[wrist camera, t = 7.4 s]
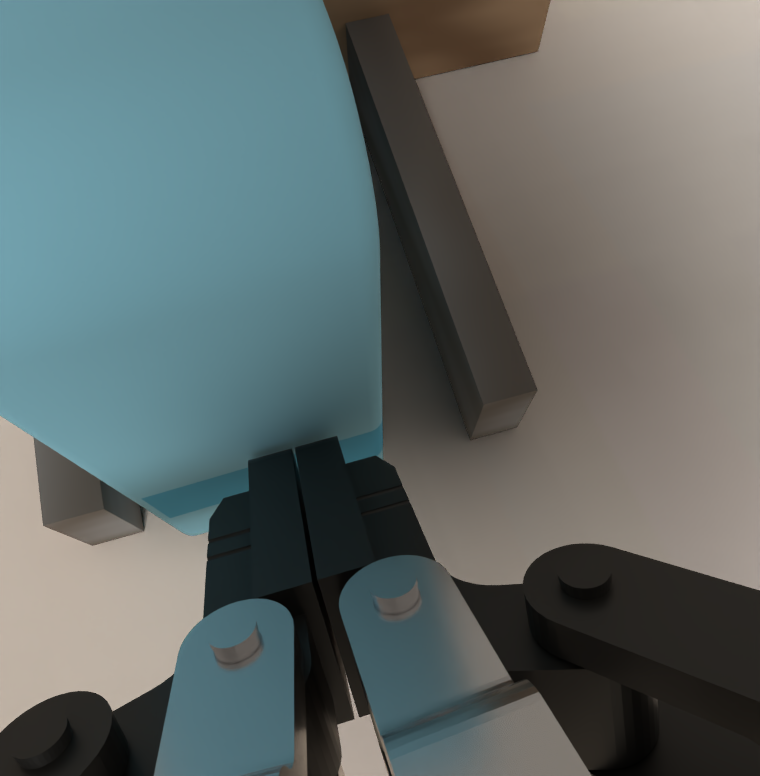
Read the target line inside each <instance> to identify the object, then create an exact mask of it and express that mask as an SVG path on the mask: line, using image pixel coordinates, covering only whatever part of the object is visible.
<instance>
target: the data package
mask: <svg viewBox="0 0 760 776" xmlns="http://www.w3.org/2000/svg"><path fill="white" fill-rule="evenodd" d="M0 416H2V417H3V418H5V419H6V420H8V421H9V422H11V423H12V424H14V425H16V426H17V427H19V428H20V429H22V430H23V431H25V432H26V433H28V434H30V435H31V436H33V437H34V438H36V439H37V440H39V441H40V442H42V443H44V444H45V445H47V446H48V447H50V448H51V449H53V450H55V451H56V452H58V453H59V454H61V455H62V456H64V457H65V458H67V459H69V460H70V461H72V462H73V463H75V464H76V465H78V466H79V467H81V468H83V469H84V470H86V471H87V472H89V473H90V474H92V475H94V476H95V477H97V478H98V479H100V480H101V481H103V482H104V483H106V484H108V485H109V486H111V487H112V488H114V489H115V490H117V491H118V492H120V493H122V494H123V495H125V496H126V497H128V498H129V499H131V500H132V501H134V502H136V503H137V504H139V505H140V506H142V507H143V508H145V509H147V510H148V511H150V512H151V513H153V514H154V515H156V516H157V517H159V518H161V519H162V520H164V521H165V522H167V523H168V524H170V525H171V526H173V527H175V528H176V529H178V530H179V531H181V532H182V533H184V534H187V535H190V536H194V535H199V534H203V533H206V532H209V519H210V518H211V516H212V515H213V513H214V512H215V510H216V509H217V507H218V505H219V504H220V502H221V501H222V499H223V498H225V497H229V496H232V495H236V494H239V493H243V492H247V491H249V479H248V460H251V459H255V458H258V457H262V456H266V455H269V454H273V453H276V452H280V451H284V450H287V449H292V451H293V454H294V457H295V460H296V463H297V458H296V452H295V447H298V446H301V445H305V444H309V443H312V442H316V441H320V440H323V439H327V438H331V437H334V436H337V437H338V440H339V444H340V447H341V450H342V454H343V457H344V460H345V463H350V462H354V461H357V460H361V459H364V458H368V457H371V456H375V455H376V456H377V457H379V458H381V459H382V460H383V421H382V355H381V288H380V239H379V226H378V217H377V209H376V202H375V195H374V189H373V183H372V177H371V172H370V166H369V161H368V156H367V151H366V146H365V141H364V137H363V133H362V128H361V124H360V119H359V115H358V111H357V107H356V103H355V99H354V95H353V92H352V88H351V84H350V80H349V77H348V74H347V70H346V67H345V63H344V60H343V57H342V54H341V50H340V47H339V44H338V41H337V38H336V35H335V32H334V29H333V27H332V24H331V21H330V18H329V16H328V13H327V10H326V8H325V5H324V2H323V0H0ZM297 466H298V464H297ZM298 470H299V469H298Z"/></svg>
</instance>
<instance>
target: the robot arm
mask: <svg viewBox="0 0 760 776" xmlns="http://www.w3.org/2000/svg"><path fill="white" fill-rule="evenodd" d="M295 452H296V458H297V463H296V460H295V457H294V454H293V451H292V449H287V450H284V451H280V452H276V453H273V454H269V455H266V456H262V457H258V458H255V459H251V460H248V479H249V491H247V492H243V493H239V494H236V495H232V496H229V497H225V498H223V499H222V501H221V502H220V504H219V505H218V507H217V509H216V510H215V512H214V513H213V515H212V516H211V518H210V519H209V534H208V541H209V544H208V550H207V558H208V561H207V566H206V583H205V599H204V615H203V619H202V620H201V621H200V622H199V623H198V624H197V625H196V626H195V627H194V628H193V629H192V630H191V631H190V632H189V634H188V635H187V636H186V638H185V639H184V641H183V643H182V645H181V647H180V650H179V653H178V658H177V663H176V668H175V672H174V674H173V675H172V676H171V677H170V678H168V679H167V680H166V681H164V682H163V683H162V684H160V685H158V686H157V687H155V688H154V689H152V690H150V691H149V692H147V693H145V694H143V695H141V696H140V697H138V698H136V699H134V700H132V701H131V702H129V703H127V704H125V705H124V706H122V707H120V708H118V709H116V710H115V711H113V712H112V710H111V708H110V706H109V704H108V702H107V701H106V700H105V699H104V698H103V697H102V696H100V695H98V694H96V693H92V692H88V691H77V692H69V693H65V694H61V695H58V696H55V697H52V698H50V699H47V700H45V701H43V702H41V703H39V704H37V705H35V706H34V707H32V708H31V709H29V710H27V711H26V712H24V713H23V714H22V715H20V716H19V717H18V718H16V719H15V720H14V721H13V722H11V723H10V724H9V725H8V726H7V727H6V728H5V729H4V730H3V731H2V732H1V733H0V776H345V774H344V771H343V768H342V765H341V757H342V756H341V745H340V739H339V733H338V727H337V724H340V723H344V722H347V721H350V720H353V719H354V714H353V709H352V704H351V698H350V693H349V688H348V683H347V678H348V682H349V685H350V688H351V691H352V695H353V698H354V701H355V705H356V708H357V711H358V714H359V717H362V716H365V715H368V714H370V715H371V718H372V722H373V725H374V729H375V732H376V735H377V738H378V742H379V746H380V749H381V753H382V756H383V759H384V763H385V766H386V769H387V773H388V776H760V591H759V590H756V589H752V588H749V587H745V586H742V585H739V584H735V583H732V582H728V581H725V580H722V579H718V578H715V577H711V576H708V575H705V574H701V573H698V572H694V571H691V570H688V569H684V568H681V567H677V566H674V565H671V564H667V563H664V562H660V561H657V560H654V559H650V558H647V557H644V556H640V555H637V554H633V553H630V552H627V551H623V550H620V549H616V548H613V547H609V546H605V545H599V544H571V545H566V546H562V547H559V548H556V549H553V550H551V551H549V552H546V553H544V554H543V555H541V556H540V557H539V558H537V559H536V560H535V561H534V562H533V563H532V564H531V565H530V566H529V568H528V569H527V571H526V573H525V576H524V580H523V584H513V585H478V584H472V583H468V582H464V581H461V580H459V579H456V578H454V577H452V576H451V575H450V574H449V573H448V572H447V570H446V569H445V568H444V567H443V566H442V565H440V564H439V563H437V562H436V561H435V559H434V557H433V554H432V552H431V550H430V547H429V545H428V543H427V541H426V538H425V536H424V534H423V531H422V529H421V527H420V524H419V522H418V520H417V518H416V515H415V513H414V511H413V508H412V506H411V504H410V503H409V499H408V497H407V495H406V492H405V490H404V488H403V486H402V483H401V481H400V479H399V476H398V474H397V472H396V469H395V467H394V466H392V465H390V464H389V463H387V462H386V461H384V460H382V459H381V458H379V457H377V456H376V455H375V456H371V457H368V458H364V459H361V460H357V461H354V462H350V463H345V460H344V457H343V454H342V450H341V447H340V444H339V440H338V437H337V436H334V437H331V438H327V439H323V440H320V441H316V442H312V443H309V444H305V445H301V446H298V447H295ZM297 464H298V466H297ZM298 469H299V470H298ZM346 675H347V678H346Z"/></svg>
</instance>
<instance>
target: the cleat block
mask: <svg viewBox="0 0 760 776" xmlns="http://www.w3.org/2000/svg"><path fill="white" fill-rule="evenodd" d="M323 2H324V5H325V8H326V10H327V13H328V16H329V18H330V21H331V24H332V27H333V29H334V32H335V35H336V38H337V41H338V44H339V47H340V50H341V54H342V57H343V60H344V63H345V67H346V70H347V74H348V77H349V80H350V84H351V88H352V92H353V95H354V99H355V103H356V107H357V111H358V115H359V119H360V124H361V127H362V130H363V133H364V135H365V138H366V141H367V144H368V147H369V150H370V153H371V156H372V159H373V161H374V164H375V167H376V170H377V173H378V176H379V179H380V182H381V184H382V187H383V190H384V193H385V196H386V199H387V202H388V205H389V207H390V210H391V213H392V216H393V219H394V222H395V225H396V228H397V230H398V233H399V236H400V239H401V242H402V245H403V248H404V251H405V253H406V256H407V259H408V262H409V265H410V268H411V271H412V274H413V276H414V279H415V282H416V285H417V288H418V291H419V294H420V297H421V300H422V302H423V305H424V308H425V311H426V314H427V317H428V320H429V323H430V325H431V328H432V331H433V334H434V337H435V340H436V343H437V346H438V348H439V351H440V354H441V357H442V360H443V363H444V366H445V369H446V371H447V374H448V377H449V380H450V383H451V386H452V389H453V392H454V394H455V397H456V400H457V403H458V406H459V409H460V412H461V415H462V417H463V420H464V423H465V426H466V429H467V432H468V435H469V438H470V440H472V439H476V438H480V437H483V436H487V435H490V434H494V433H498V432H501V431H505V430H508V429H512V428H515V427H517V426H518V424H519V422H520V421H521V419H522V417H523V415H524V413H525V412H526V410H527V408H528V406H529V404H530V403H531V401H532V399H533V397H534V395H535V394H536V392H537V388H536V385H535V383H534V380H533V378H532V375H531V373H530V370H529V368H528V365H527V362H526V360H525V357H524V355H523V352H522V350H521V347H520V345H519V342H518V340H517V337H516V335H515V332H514V330H513V327H512V324H511V322H510V319H509V317H508V314H507V312H506V309H505V307H504V304H503V302H502V299H501V297H500V294H499V292H498V289H497V287H496V284H495V281H494V279H493V276H492V274H491V271H490V269H489V266H488V264H487V261H486V259H485V256H484V254H483V251H482V249H481V246H480V243H479V241H478V238H477V236H476V233H475V231H474V228H473V226H472V223H471V221H470V218H469V216H468V213H467V211H466V208H465V206H464V203H463V200H462V198H461V195H460V193H459V190H458V188H457V185H456V183H455V180H454V178H453V175H452V173H451V170H450V168H449V165H448V163H447V160H446V157H445V155H444V152H443V150H442V147H441V145H440V142H439V140H438V137H437V135H436V132H435V130H434V127H433V125H432V122H431V119H430V117H429V114H428V112H427V109H426V107H425V104H424V102H423V99H422V97H421V94H420V92H419V89H418V87H417V84H416V82H415V79H418V78H422V77H426V76H431V75H435V74H440V73H444V72H448V71H453V70H457V69H462V68H466V67H471V66H475V65H479V64H484V63H488V62H493V61H497V60H501V59H506V58H510V57H515V56H519V55H523V54H528V53H532V52H537V51H538V49H539V45H540V41H541V37H542V33H543V29H544V25H545V21H546V17H547V13H548V8H549V4H550V0H323ZM34 445H35V455H36V464H37V473H38V482H39V492H40V501H41V510H42V519H43V526H45V527H47V528H50V529H52V530H55V531H57V532H60V533H62V534H65V535H67V536H70V537H72V538H75V539H77V540H80V541H82V542H85V543H87V544H90V545H92V546H93V545H96V544H100V543H103V542H107V541H111V540H114V539H118V538H121V537H125V536H128V535H132V534H136V533H139V532H143V531H144V528H143V522H142V516H141V510H140V505H139V504H137V503H136V502H134V501H132V500H131V499H129V498H128V497H126V496H125V495H123V494H122V493H120V492H118V491H117V490H115V489H114V488H112V487H111V486H109V485H108V484H106V483H104V482H103V481H101V480H100V479H98V478H97V477H95V476H94V475H92V474H90V473H89V472H87V471H86V470H84V469H83V468H81V467H79V466H78V465H76V464H75V463H73V462H72V461H70V460H69V459H67V458H65V457H64V456H62V455H61V454H59V453H58V452H56V451H55V450H53V449H51V448H50V447H48V446H47V445H45V444H44V443H42V442H40V441H39V440H37V439H36V438H34Z"/></svg>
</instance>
